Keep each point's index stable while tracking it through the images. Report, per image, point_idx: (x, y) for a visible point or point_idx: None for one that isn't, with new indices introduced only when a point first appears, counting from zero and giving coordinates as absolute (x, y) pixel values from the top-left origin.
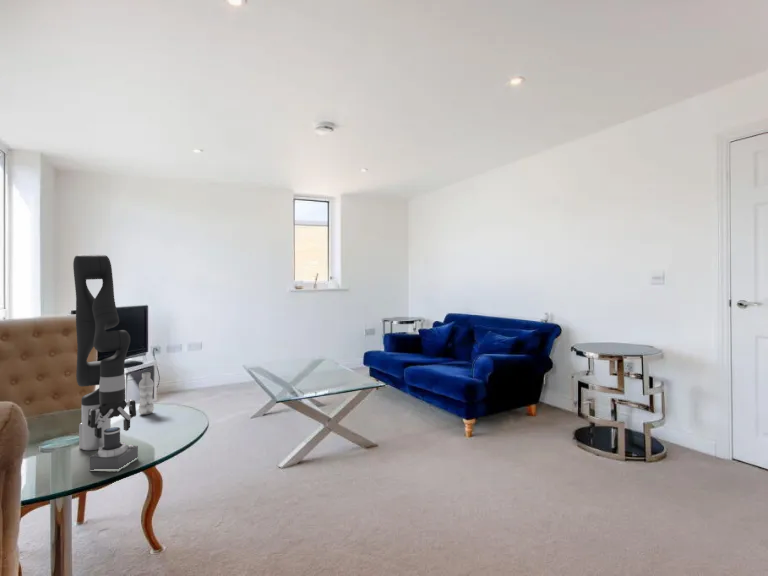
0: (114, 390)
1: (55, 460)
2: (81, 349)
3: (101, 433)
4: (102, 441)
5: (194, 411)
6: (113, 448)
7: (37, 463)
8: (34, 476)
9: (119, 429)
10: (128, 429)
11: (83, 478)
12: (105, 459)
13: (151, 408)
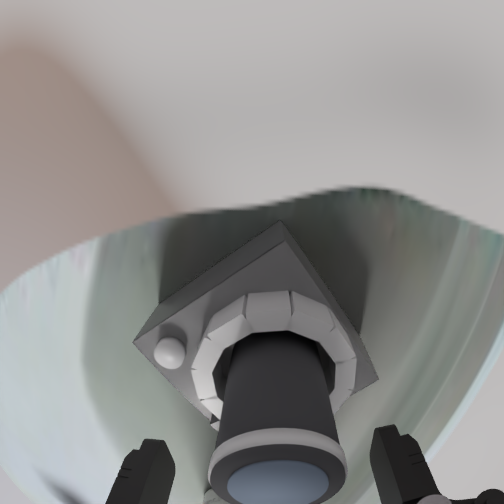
0: None
1: (367, 481)
2: None
3: (388, 456)
4: None
5: (3, 467)
6: (284, 345)
7: None
8: (456, 414)
9: (221, 459)
10: (144, 440)
11: (404, 284)
12: (332, 306)
13: None
